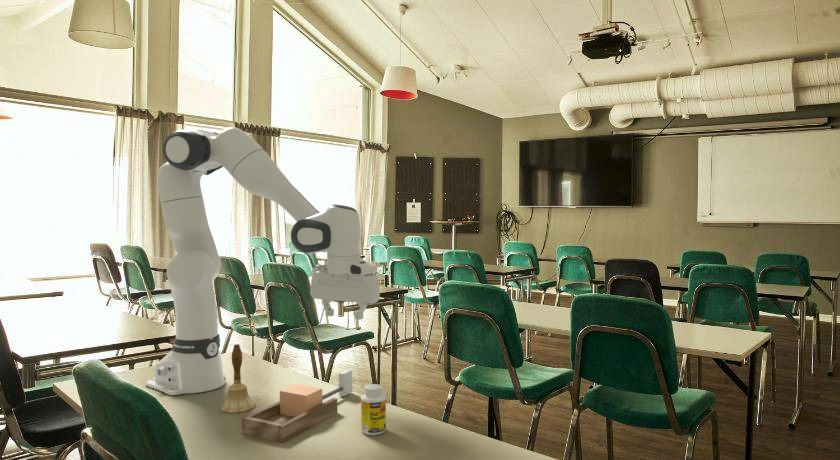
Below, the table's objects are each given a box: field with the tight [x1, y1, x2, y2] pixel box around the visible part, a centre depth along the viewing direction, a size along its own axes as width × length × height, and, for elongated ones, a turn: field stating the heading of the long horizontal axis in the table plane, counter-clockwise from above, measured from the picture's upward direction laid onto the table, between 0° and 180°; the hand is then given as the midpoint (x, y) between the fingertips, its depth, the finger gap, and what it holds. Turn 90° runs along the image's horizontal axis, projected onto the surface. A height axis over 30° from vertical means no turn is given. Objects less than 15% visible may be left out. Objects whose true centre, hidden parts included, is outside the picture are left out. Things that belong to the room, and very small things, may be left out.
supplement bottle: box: [360, 383, 387, 436], centre depth 130 cm, size 6×6×10 cm
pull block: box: [279, 369, 353, 417], centre depth 147 cm, size 8×24×6 cm, turn 153°
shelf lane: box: [241, 397, 338, 444], centre depth 136 cm, size 12×20×4 cm, turn 153°
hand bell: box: [220, 343, 256, 414], centre depth 146 cm, size 8×8×16 cm
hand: (344, 317), depth 155 cm, fingers open, 8 cm apart
